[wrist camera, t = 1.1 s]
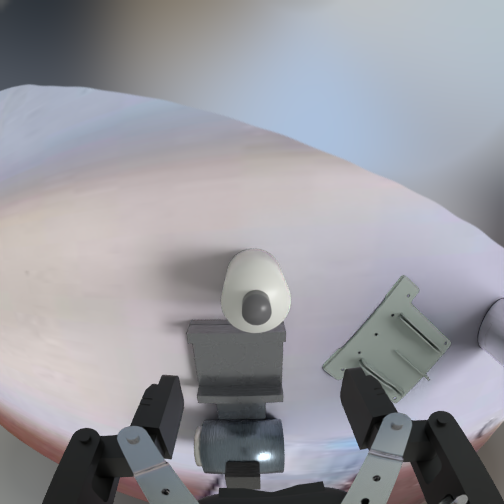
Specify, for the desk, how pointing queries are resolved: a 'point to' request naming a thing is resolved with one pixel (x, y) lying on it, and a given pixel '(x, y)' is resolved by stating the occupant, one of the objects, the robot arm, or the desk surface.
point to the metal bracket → (392, 344)
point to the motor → (238, 400)
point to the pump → (255, 292)
